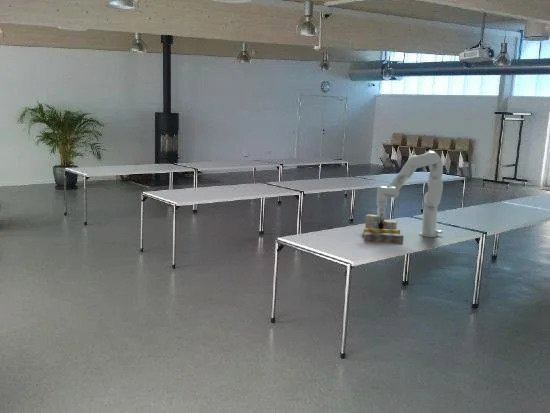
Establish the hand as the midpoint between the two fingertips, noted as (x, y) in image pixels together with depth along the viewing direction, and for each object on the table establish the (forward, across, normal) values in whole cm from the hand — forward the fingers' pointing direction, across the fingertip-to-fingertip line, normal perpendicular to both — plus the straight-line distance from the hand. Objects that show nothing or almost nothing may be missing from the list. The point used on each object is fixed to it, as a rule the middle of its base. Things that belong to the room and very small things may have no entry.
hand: (380, 227), depth 389 cm
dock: (+4, -20, 0) cm, 20 cm away
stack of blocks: (+4, 0, 0) cm, 4 cm away
